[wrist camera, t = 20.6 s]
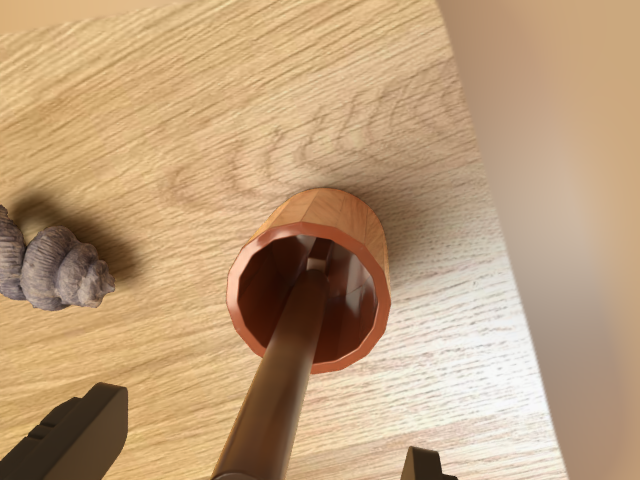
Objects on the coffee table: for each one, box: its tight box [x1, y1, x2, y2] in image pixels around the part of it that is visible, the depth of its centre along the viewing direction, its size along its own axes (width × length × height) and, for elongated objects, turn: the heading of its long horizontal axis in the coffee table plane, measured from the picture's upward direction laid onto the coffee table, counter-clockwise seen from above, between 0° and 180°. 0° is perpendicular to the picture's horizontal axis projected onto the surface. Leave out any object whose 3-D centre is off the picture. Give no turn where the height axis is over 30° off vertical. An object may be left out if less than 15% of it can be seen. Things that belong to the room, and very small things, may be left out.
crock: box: [226, 188, 391, 374], centre depth 25 cm, size 8×8×8 cm
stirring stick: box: [210, 237, 334, 480], centre depth 19 cm, size 3×2×18 cm, turn 172°
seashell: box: [0, 205, 115, 311], centre depth 28 cm, size 5×5×10 cm
